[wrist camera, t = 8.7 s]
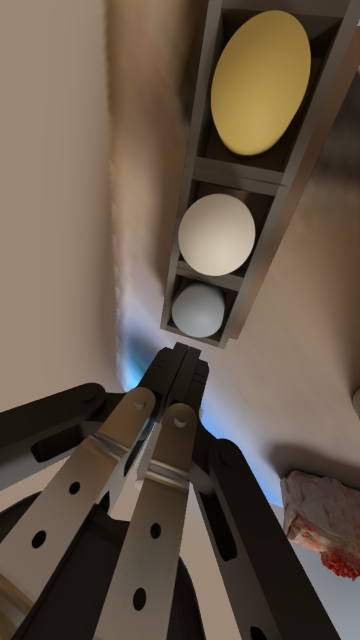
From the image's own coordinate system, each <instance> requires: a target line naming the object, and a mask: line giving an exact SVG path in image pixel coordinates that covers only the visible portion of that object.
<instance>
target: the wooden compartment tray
mask: <svg viewBox="0 0 360 640" xmlns="http://www.w3.org/2000/svg"><path fill="white" fill-rule="evenodd" d="M273 10H277V11H283V12H286V13H289V14H290V15H292V16H294V17H295V18H296V19H297V20H298V21H299V22H300V24H301V25H302V27H303V28H304V30H305V32H306V35H307V38H308V41H309V46H310V53H311V65H310V74H309V80H308V84H307V88H306V91H305V94H304V97H303V99H302V102H301V104H300V106H299V108H298V110H297V111H296V113H295V115H294V117H293V118H292V120H291V122H290V124H289V126H288V127H287V129H286V131H285V132H284V134H283V136H282V137H281V139H280V140H279V141H278V142H277V144H276V145H275V146H274V147H273V148H272V149H271V150H269V151H268V152H267V153H265V154H264V155H262V156H260V157H257V158H254V159H249V160H243V159H239V158H236V157H234V156H233V155H231V154H230V153H229V152H228V151H227V150H226V148H225V147H224V145H223V143H222V141H221V138H220V136H219V133H218V131H217V128H216V125H215V122H214V119H213V115H212V109H211V90H212V82H213V77H214V74H215V70H216V67H217V64H218V61H219V59H220V57H221V55H222V52H223V50H224V49H225V47H226V45H227V43H228V42H229V41H230V39H231V38H232V36H233V35H234V34H235V33H236V32H237V30H238V29H239V28H240V27H241V26H242V25H243V24H245V23H246V22H247V21H248V20H250V19H251V18H253V17H254V16H256V15H258V14H260V13H263V12H266V11H273ZM359 19H360V0H209V4H208V11H207V17H206V24H205V31H204V37H203V44H202V51H201V58H200V64H199V71H198V78H197V84H196V91H195V98H194V104H193V111H192V118H191V124H190V131H189V138H188V145H187V151H186V158H185V165H184V171H183V178H182V185H181V191H180V198H179V205H178V211H177V218H176V225H175V231H174V238H173V245H172V252H171V258H170V265H169V272H168V278H167V285H166V292H165V298H164V305H163V312H162V318H161V325H160V329H163V330H166V331H169V332H173V333H176V334H179V335H182V336H185V337H188V338H191V339H194V340H197V341H200V342H203V343H207V344H210V345H213V346H216V347H219V348H222V349H224V348H225V346H226V343H227V341H228V338H232V339H235V340H237V339H238V337H239V335H240V332H241V330H242V328H243V326H244V323H245V321H246V319H247V317H248V314H249V312H250V310H251V308H252V305H253V303H254V301H255V299H256V296H257V294H258V292H259V290H260V287H261V285H262V283H263V281H264V278H265V276H266V274H267V272H268V269H269V267H270V265H271V263H272V260H273V258H274V256H275V254H276V251H277V249H278V247H279V245H280V242H281V240H282V238H283V236H284V233H285V231H286V229H287V227H288V224H289V222H290V220H291V218H292V215H293V213H294V211H295V209H296V206H297V204H298V202H299V200H300V197H301V195H302V193H303V191H304V188H305V186H306V184H307V182H308V179H309V177H310V175H311V173H312V170H313V168H314V166H315V164H316V161H317V159H318V157H319V155H320V153H321V150H322V148H323V146H324V144H325V141H326V139H327V137H328V135H329V132H330V130H331V128H332V126H333V123H334V121H335V119H336V117H337V114H338V112H339V110H340V108H341V105H342V103H343V101H344V99H345V96H346V94H347V92H348V90H349V87H350V85H351V83H352V81H353V78H354V76H355V74H356V72H357V69H358V67H359V65H360V26H357V24H358V22H359ZM212 194H225V195H229V196H232V197H234V198H237V199H239V200H240V201H241V202H243V203H244V204H245V205H246V207H247V208H248V210H249V211H250V213H251V216H252V218H253V221H254V226H255V240H254V244H253V248H252V250H251V252H250V254H249V256H248V257H247V259H246V260H245V261H244V263H243V264H242V265H241V266H239V267H238V268H237V269H235V270H234V271H232V272H230V273H227V274H224V275H220V276H210V275H205V274H202V273H200V272H198V271H196V270H194V269H193V268H192V267H191V266H190V265H189V264H188V263H187V262H186V261H185V259H184V257H183V255H182V253H181V250H180V247H179V240H178V234H179V227H180V224H181V221H182V219H183V216H184V215H185V213H186V211H187V210H188V209H189V208H190V207H191V206H192V205H193V204H194V203H195V202H196V201H198V200H199V199H201V198H203V197H205V196H208V195H212ZM193 280H199V281H203V282H207V283H210V284H214V285H217V286H220V287H221V288H222V289H223V291H224V293H225V297H226V304H225V309H224V314H223V320H222V324H221V326H220V328H219V329H218V330H217V331H216V332H215V333H214V334H212V335H210V336H207V337H193V336H190V335H187V334H185V333H184V332H182V331H181V330H180V329H179V328H178V327H177V326H176V324H175V322H174V320H173V317H172V307H173V305H174V303H175V301H176V300H177V298H178V297H179V295H180V294H181V292H182V291H183V290H184V288H185V287H186V286H187V285H188V284H189V283H190V282H191V281H193Z"/></svg>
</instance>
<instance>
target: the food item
mask: <svg viewBox="0 0 360 640" xmlns="http://www.w3.org/2000/svg"><path fill="white" fill-rule="evenodd" d="M280 486H281V493H282V501H283V506H284V526H283V529H284V530H283V531H284V533H285V535H286V537H287V539H288V541H289V542H293V543H295V544H298V545H301V546H303V547H305V548H307V549H310V550H313V551H315V552H317V553H320V554H321V560H322V563H323V565H324V566H326V567H327V568H328V569H330V570H331V569H332V570H333V572H334V573H335V574H336V575H337V576H339V575H341V576H342V577H346V576H347V577H348V578H352V580H353V581H354V580H355V579H356V577H358V576H360V491H358V490H355V489H353V488H350V487H346V486H343V485H342V484H341V483H340V482H339V481H338V480H337V479H335V478H332V477H331V478H329V477H323V478H320V477H318V476H315V475H311V474H306V473H303V472H299V471H297V470H295V471H293V472H291V474H290V475H288V476H287V477H286V478H285V477H283V478H282V480H281V482H280Z"/></svg>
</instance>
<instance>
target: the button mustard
mask: <svg viewBox="0 0 360 640" xmlns="http://www.w3.org/2000/svg"><path fill="white" fill-rule="evenodd" d="M310 65H311V53H310V46H309V41H308V38H307V35H306V32H305V30H304V28H303V27H302V25H301V24H300V22H299V21H298V20H297V19H296V18H295V17H294V16H292V15H290V14H289V13H286V12H283V11H277V10H273V11H266V12H263V13H260V14H258V15H256V16H254V17H253V18H251V19H250V20H248V21H247V22H246V23H245V24H243V25H242V26H241V27H240V28H239V29H238V30H237V32H236V33H235V34H234V35H233V36H232V38H231V39H230V41H229V42H228V43H227V45H226V47H225V49H224V50H223V52H222V55H221V57H220V59H219V61H218V64H217V67H216V70H215V74H214V77H213V82H212V90H211V109H212V115H213V119H214V122H215V125H216V128H217V131H218V133H219V136H220V138H221V141H222V143H223V145H224V147H225V148H226V150H227V151H228V152H229V153H230V154H231V155H233V156H234V157H236V158H239V159H243V160H249V159H254V158H257V157H260V156H262V155H264V154H265V153H267V152H268V151H269V150H271V149H272V148H273V147H274V146H275V145H276V144H277V142H278V141H279V140H280V139H281V137H282V136H283V134H284V132H285V131H286V129H287V127H288V126H289V124H290V122H291V120H292V118H293V117H294V115H295V113H296V111H297V110H298V108H299V106H300V104H301V102H302V99H303V97H304V94H305V91H306V88H307V84H308V80H309V74H310Z"/></svg>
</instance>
